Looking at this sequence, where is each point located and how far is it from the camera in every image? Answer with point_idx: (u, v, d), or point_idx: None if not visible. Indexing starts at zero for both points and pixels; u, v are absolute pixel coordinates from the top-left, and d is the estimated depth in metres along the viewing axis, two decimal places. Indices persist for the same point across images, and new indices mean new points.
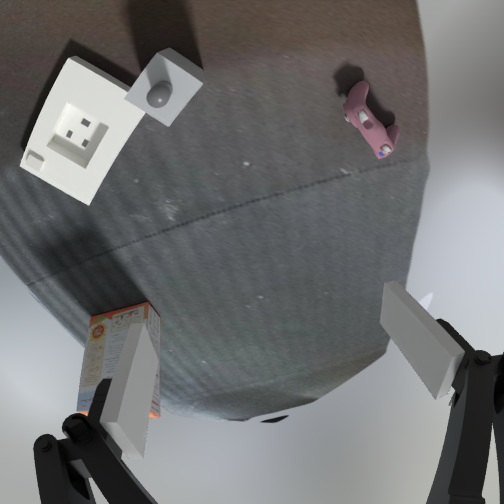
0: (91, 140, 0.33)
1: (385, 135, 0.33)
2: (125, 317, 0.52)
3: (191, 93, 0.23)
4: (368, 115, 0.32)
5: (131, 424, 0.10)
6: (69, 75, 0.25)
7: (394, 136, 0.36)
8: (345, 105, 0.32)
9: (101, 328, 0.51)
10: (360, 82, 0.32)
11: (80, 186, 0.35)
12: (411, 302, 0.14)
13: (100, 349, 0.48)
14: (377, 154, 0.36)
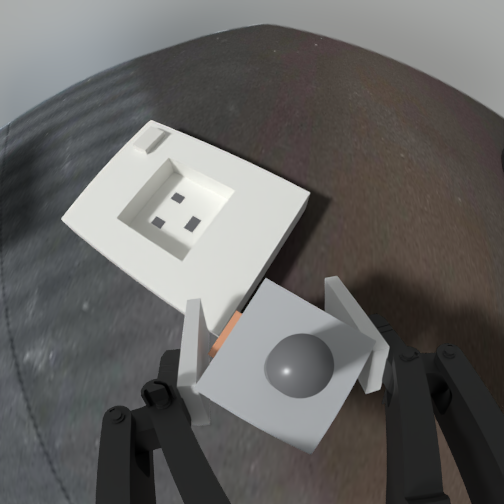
0: (161, 233, 0.23)
1: None
2: None
3: (284, 434, 0.10)
4: None
5: None
6: (280, 194, 0.22)
7: None
8: None
9: None
10: None
11: (91, 207, 0.22)
12: (346, 296, 0.15)
13: None
14: None
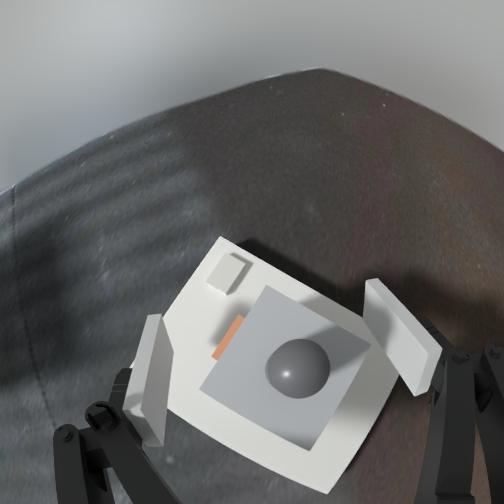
0: None
1: None
2: None
3: (284, 432, 0.10)
4: None
5: (152, 412, 0.11)
6: None
7: None
8: None
9: None
10: None
11: None
12: (391, 299, 0.14)
13: None
14: None
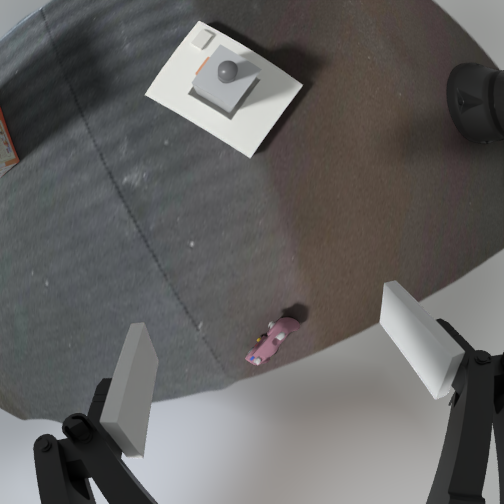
0: None
1: None
2: (2, 137, 0.31)
3: (223, 98, 0.28)
4: (282, 339, 0.46)
5: (131, 424, 0.10)
6: (286, 84, 0.35)
7: (264, 360, 0.50)
8: (282, 320, 0.47)
9: None
10: (297, 322, 0.50)
11: (167, 86, 0.33)
12: (411, 302, 0.14)
13: None
14: (250, 355, 0.47)
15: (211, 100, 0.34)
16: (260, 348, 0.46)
